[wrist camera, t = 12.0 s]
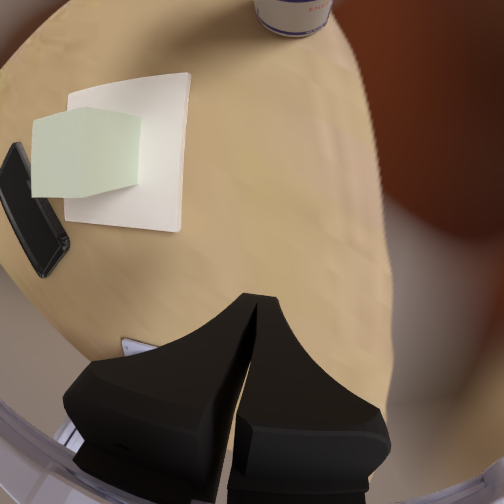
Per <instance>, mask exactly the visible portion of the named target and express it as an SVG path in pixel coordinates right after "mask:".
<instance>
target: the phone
mask: <svg viewBox="0 0 504 504" xmlns="http://www.w3.org/2000/svg"><path fill="white" fill-rule="evenodd" d="M0 201H1V203H2V206H3V208H4V211H5V213H6V215H7V217H8V220H9V222H10V224H11V226H12V228H13V230H14V232H15V234H16V236H17V238H18V240H19V242H20V244H21V246H22V248H23V250H24V252H25V254H26V255H27V257H28V259H29V261H30V262H31V264H32V266H33V268H34V269H35V271H36V273H37V274H38V276H39V277H40V278H42V279H44V278H46V277H47V276H49V275H50V274H51V272H52V271H53V270H54V268H55V267H56V266H57V264H58V263H59V262H60V260H61V259H62V258H63V256H64V255H65V254H66V253H67V251H68V250H69V248H70V240H69V237H68V235H67V233H66V232H65V230H64V228H63V227H62V225H61V223H60V221H59V220H58V218H57V216H56V214H55V212H54V211H53V209H52V207H51V205H50V203H49V201H48V199H47V198H46V197H32V190H31V164H30V162H29V160H28V157H27V155H26V152H25V150H24V148H23V145H22V143H21V142H16V143H13V144H12V145H11V147H10V149H9V151H8V153H7V155H6V157H5V159H4V161H3V164H2V166H1V168H0Z"/></svg>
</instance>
